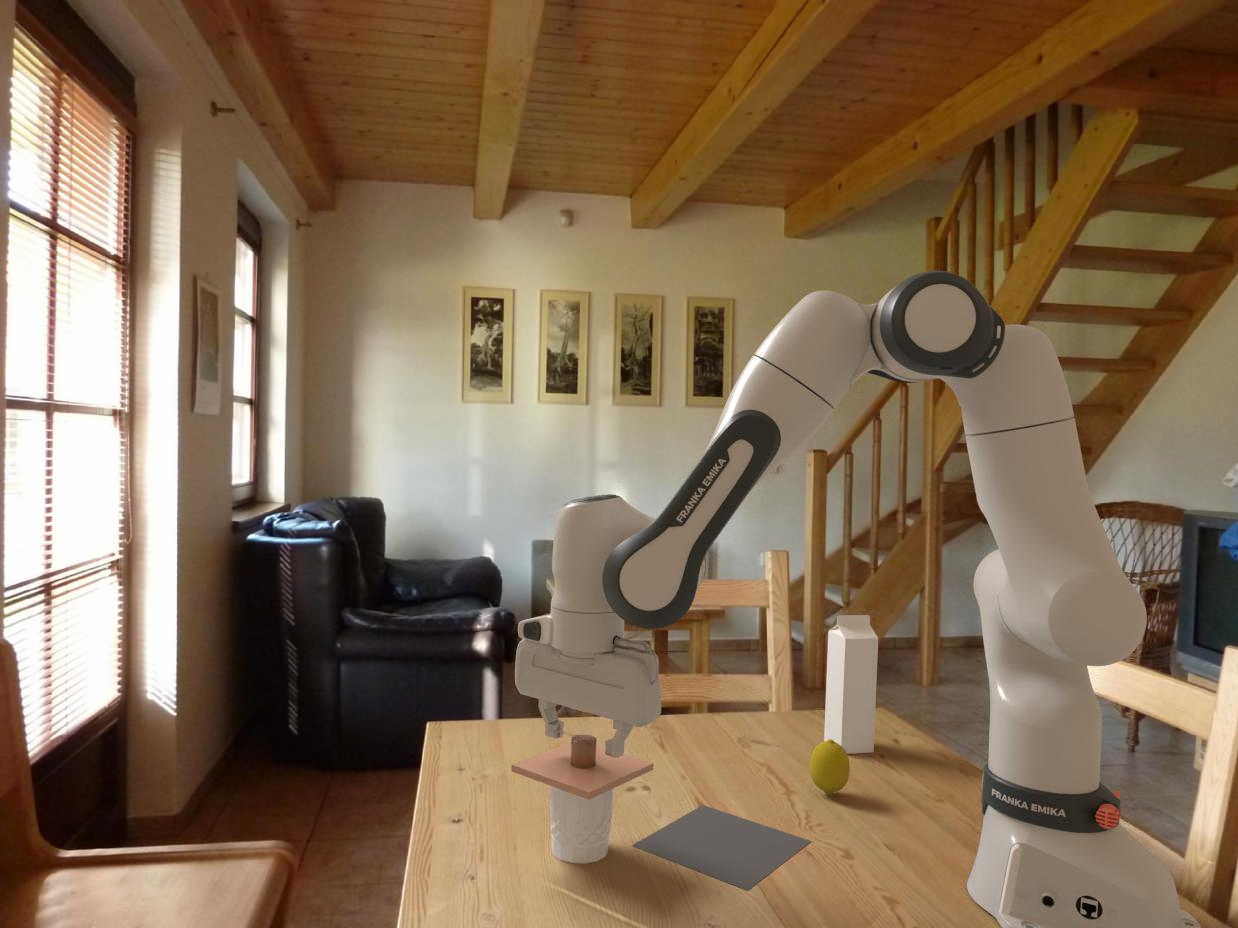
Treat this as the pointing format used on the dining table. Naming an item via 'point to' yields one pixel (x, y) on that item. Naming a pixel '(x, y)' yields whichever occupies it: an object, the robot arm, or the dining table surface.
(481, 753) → the dining table surface
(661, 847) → the mat
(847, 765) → the lemon
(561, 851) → the white cup
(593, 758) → the lid
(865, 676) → the milk
